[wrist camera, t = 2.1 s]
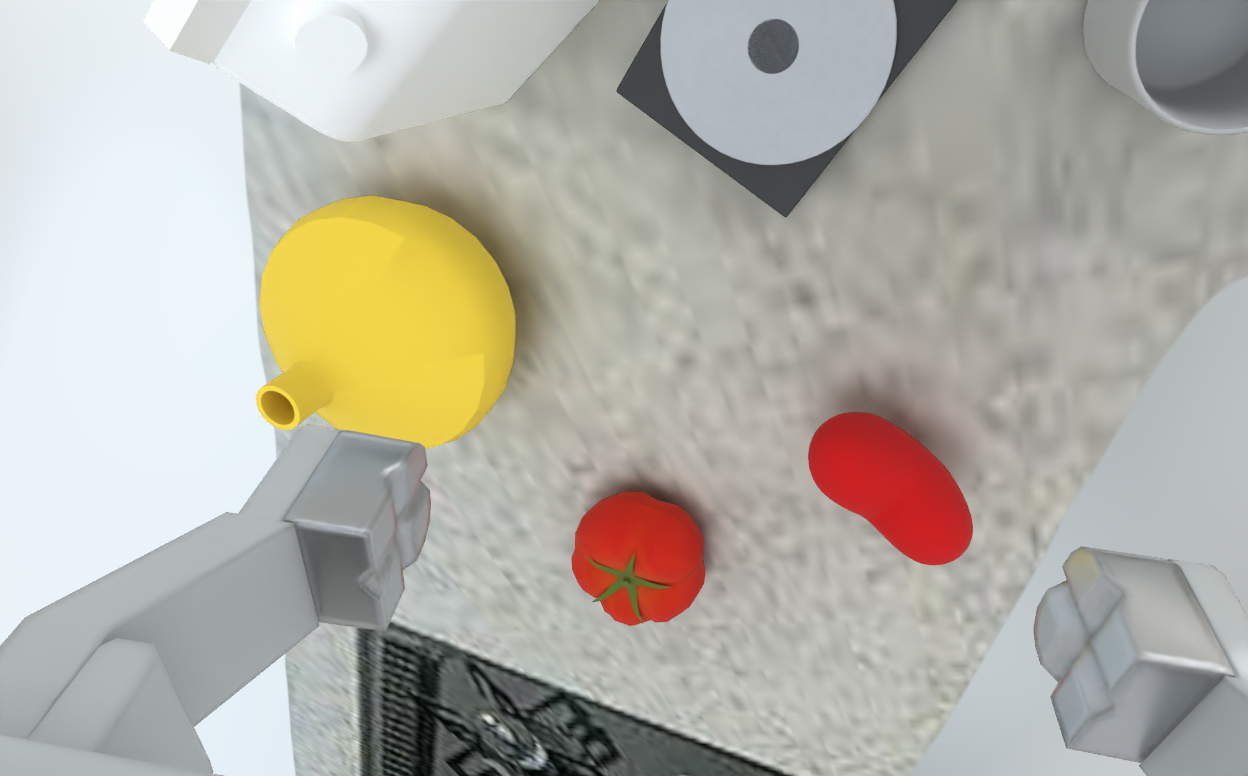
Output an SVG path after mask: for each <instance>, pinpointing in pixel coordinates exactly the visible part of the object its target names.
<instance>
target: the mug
mask: <svg viewBox="0 0 1248 776" xmlns="http://www.w3.org/2000/svg"><path fill="white" fill-rule="evenodd" d="M1083 39H1084V46H1085V49H1086V53H1087V56H1088V58H1089V60H1090V62H1091V64H1092V66H1093V67H1094V69H1095V70H1096V72H1097V73H1098V74H1099V76H1100V77H1101V78H1102V79H1103V80H1104V81H1105V82H1106V83H1108V84H1109V85H1110V86H1112V87H1113V88H1115V89H1116V90H1118V91H1119V92H1121V93H1123V94H1125V95H1127V96H1128V97H1130V98H1131V99H1132V100H1134V101H1135V102H1137V103H1138V104H1139V105H1141V106H1142V107H1144V108H1145V109H1146V110H1148V111H1149V112H1151V113H1152V114H1154V115H1155V116H1156V117H1158V118H1159V119H1161V120H1163V121H1165V122H1166V123H1168V124H1170V125H1172V126H1174V127H1177V128H1180V129H1183V130H1186V131H1191V132H1196V133H1201V134H1212V135H1226V134H1237V133H1243V132H1248V0H1088V1H1087V5H1086V9H1085V13H1084V20H1083Z"/></svg>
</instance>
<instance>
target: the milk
mask: <svg viewBox="0 0 1248 776" xmlns="http://www.w3.org/2000/svg"><path fill="white" fill-rule="evenodd" d="M599 1H600V0H154V1H153V3H152V5H151V6H150V9H149V10H148V12H147V14H146V16H145V18H144V20H143V22H144V23H145V24H146V25H147V26H148V27H149V29H150V30H151V31H152V32H153V33H154V34H155V35H156V36H157V37H158V38H159V40H160V41H161V42H162V43H163V44H164V45H165V46H166V47H167V48H168V49H169V50H170V51H172V52H176V53H178V54H181V55H184V56H187V57H190V58H193V59H196V60H199V61H203V62H205V63H208V64H210V63H213V62H214V64H215V65H216V67H217V68H218V69H220V70H221V71H223V72H224V73H226V74H228V75H229V76H231V77H232V78H234V79H235V80H237V81H239V82H240V83H242V84H243V85H245V86H247V87H248V88H250V89H251V90H253V91H254V92H256V93H258V94H259V95H261V96H262V97H264V98H266V99H267V100H269V101H270V102H272V103H274V104H275V105H277V106H278V107H280V108H281V109H283V110H285V111H286V112H288V113H289V114H291V115H293V116H294V117H296V118H297V119H299V120H301V121H302V122H304V123H305V124H307V125H309V126H310V127H312V128H314V129H315V130H317V131H319V132H321V133H322V134H325V135H327V136H329V137H331V138H334V139H336V140H340V141H344V142H357V141H361V140H364V139H368V138H372V137H376V136H380V135H384V134H388V133H391V132H395V131H399V130H403V129H407V128H411V127H415V126H418V125H422V124H426V123H430V122H434V121H438V120H442V119H445V118H449V117H453V116H457V115H461V114H465V113H469V112H472V111H476V110H480V109H484V108H488V107H492V106H496V105H499V104H503V103H506V102H507V101H508V100H509V99H510V98H511V97H512V96H513V95H514V93H515V92H516V91H517V90H518V89H519V88H520V87H521V86H522V85H523V84H524V83H525V81H526V80H527V79H528V78H529V77H530V76H531V75H532V74H533V73H534V72H535V71H536V69H537V68H538V67H539V66H540V65H541V64H542V63H543V62H544V61H545V60H546V59H547V57H548V56H549V55H550V54H551V53H552V52H553V51H554V50H555V49H556V48H557V46H558V45H559V44H560V43H561V42H562V41H563V40H564V39H565V38H566V37H567V36H568V34H569V33H570V32H571V31H572V30H573V29H574V28H575V27H576V26H577V25H578V24H579V22H580V21H581V20H582V19H583V18H584V17H585V16H586V15H587V14H588V13H589V12H590V10H591V9H592V8H593V7H594V6H595V5H596V4H597V3H598V2H599Z"/></svg>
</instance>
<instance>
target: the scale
mask: <svg viewBox="0 0 1248 776" xmlns="http://www.w3.org/2000/svg"><path fill="white" fill-rule="evenodd" d="M956 1H957V0H668V2H667V4H666V5H665V7H664V9H663V10H662V12H661V14H660V16H659V17H658V19H657V21H656V23H655V24H654V26H653V28H652V29H651V31H650V33H649V35H648V36H647V38H646V40H645V42H644V43H643V45H642V47H641V48H640V50H639V52H638V54H637V55H636V57H635V59H634V61H633V62H632V64H631V66H630V68H629V69H628V71H627V73H626V74H625V76H624V78H623V80H622V81H621V83H620V85H619V87H618V88H617V90H616V91H617V93H619V94H620V95H622V96H623V97H624V98H626V99H627V100H628V101H630V102H631V103H632V104H634V105H635V106H636V107H638V108H639V109H640V110H642V111H643V112H644V113H646V114H647V115H648V116H650V117H651V118H652V119H654V120H655V121H656V122H658V123H659V124H660V125H662V126H663V127H665V128H666V129H667V130H669V131H670V132H671V133H673V134H674V135H675V136H677V137H678V138H679V139H681V140H682V141H683V142H685V143H686V144H687V145H689V146H690V147H691V148H693V149H694V150H695V151H697V152H698V153H699V154H701V155H702V156H703V157H705V158H706V159H707V160H709V161H710V162H712V163H713V164H714V165H716V166H717V167H718V168H720V169H721V170H722V171H724V172H725V173H726V174H728V175H729V176H730V177H732V178H733V179H734V180H736V181H737V182H738V183H740V184H741V185H742V186H744V187H745V188H746V189H748V190H749V191H750V192H752V193H753V194H754V195H756V196H757V197H759V198H760V199H761V200H763V201H764V202H765V203H767V204H768V205H769V206H771V207H772V208H773V209H775V210H776V211H777V212H779V213H780V214H781V215H783V216H784V217H787V216H788V215H789V213H790V212H791V211H792V210H793V208H794V207H795V206H796V205H797V203H798V202H799V201H800V199H801V198H802V197H803V196H804V194H805V193H806V192H807V191H808V189H809V188H810V187H811V186H812V184H813V183H814V182H815V180H816V179H817V178H818V177H819V175H820V174H821V173H822V172H823V170H824V169H825V168H826V166H827V165H828V164H829V163H830V161H831V160H832V159H833V158H834V156H835V155H836V154H837V153H838V151H839V150H840V149H841V147H842V146H843V145H844V144H845V142H846V141H847V140H848V139H849V137H850V136H851V135H852V133H853V132H854V131H855V130H856V128H857V127H858V126H859V125H860V124H861V123H862V122H863V121H864V119H865V118H866V117H867V116H868V114H869V113H870V112H871V110H872V109H873V107H874V106H875V104H876V103H877V102H878V100H879V99H880V98H881V97H882V95H883V94H884V93H885V92H886V90H887V89H888V88H889V87H890V85H891V84H892V83H893V81H894V80H895V79H896V78H897V76H898V75H899V74H900V73H901V71H902V70H903V69H904V67H905V66H906V65H907V64H908V62H909V61H910V60H911V59H912V57H913V56H914V55H915V54H916V52H917V51H918V50H919V48H920V47H921V46H922V45H923V43H924V42H925V41H926V40H927V38H928V37H929V36H930V34H931V33H932V32H933V31H934V29H935V28H936V27H937V26H938V24H939V23H940V22H941V21H942V19H943V18H944V17H945V15H946V14H947V13H948V12H949V10H950V9H951V8H952V7H953V5H954V4H955V3H956Z"/></svg>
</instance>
